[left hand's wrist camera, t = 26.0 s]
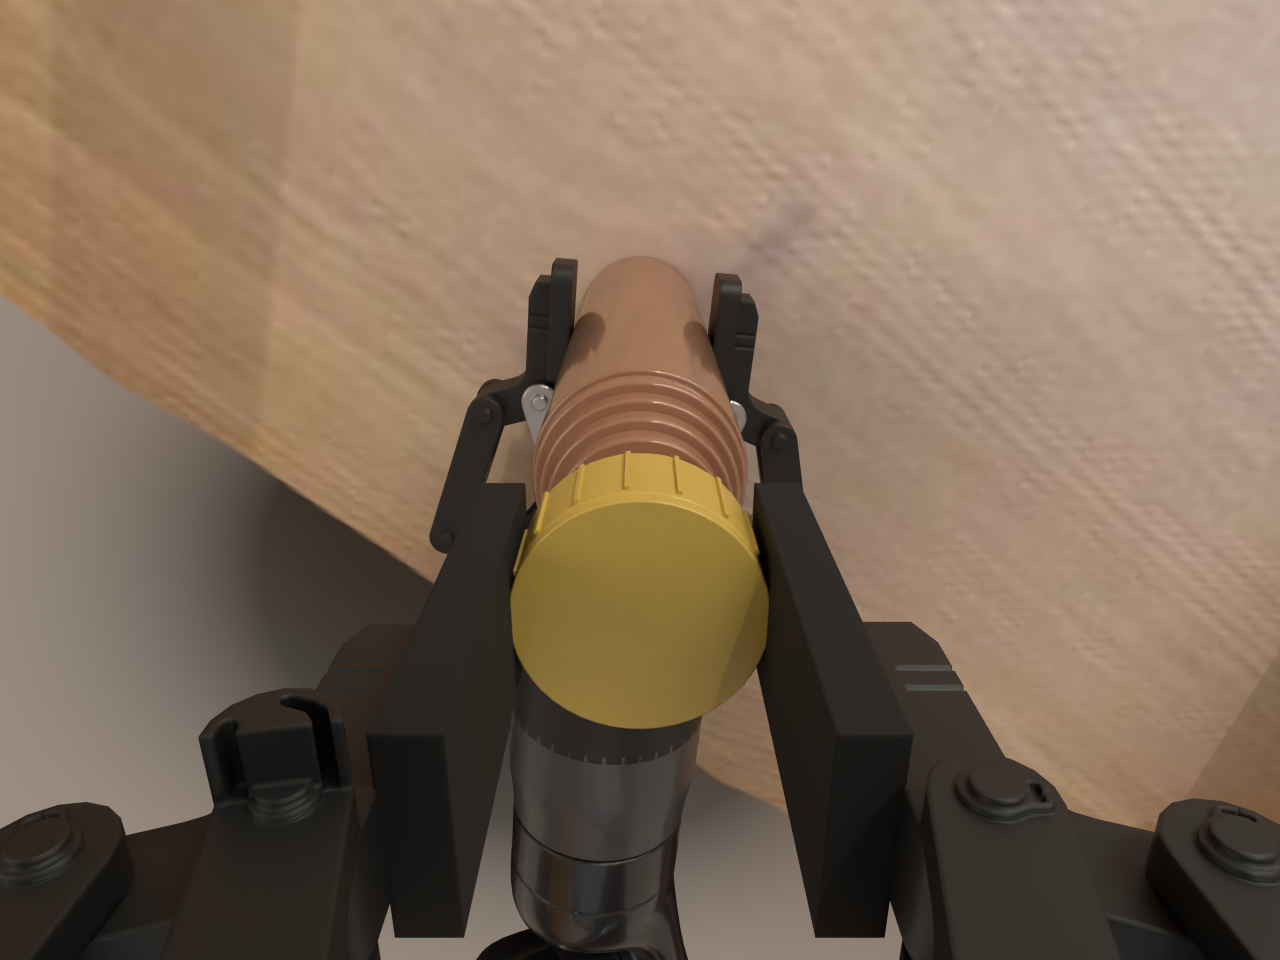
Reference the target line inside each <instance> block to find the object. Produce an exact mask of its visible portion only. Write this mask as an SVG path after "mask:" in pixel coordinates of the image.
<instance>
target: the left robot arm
mask: <svg viewBox="0 0 1280 960" xmlns="http://www.w3.org/2000/svg"><path fill="white" fill-rule="evenodd" d="M752 526H753V529H754V533H755V536H756V540H757V543H758V547H759V550H760V554H759V558H760V561H761V565H762V568H763V572H764V575H765V579H766V582H767V586H768V590H769V608H768V624H767V639H766V648H765V650H764V653H763V655H762V657H761V660H760V662H759V663H758V665H757V671H758V676H759V681H760V685H761V690H762V694H763V699H764V704H765V708H766V713H767V717H768V722H769V727H770V731H771V736H772V740H773V745H774V749H775V754H776V759H777V763H778V768H779V772H780V777H781V782H782V786H783V791H784V795H785V800H786V805H787V809H788V814H789V818H790V823H791V827H792V832H793V837H794V841H795V846H796V850H797V855H798V860H799V864H800V869H801V873H802V878H803V883H804V887H805V892H806V896H807V901H808V906H809V910H810V915H811V919H812V924H813V928H814V933H815V937H816V938H884V937H885V930H886V923H887V916H888V909H889V902H891V905H892V908H893V911H894V914H895V917H896V920H897V924H898V926H899V930H900V933H901V936H902V946H901V952H900V959H899V960H1280V825H1279V824H1277V823H1275V822H1273V821H1271V820H1269V819H1267V818H1265V817H1263V816H1262V815H1260V814H1258V813H1256V812H1254V811H1251V810H1248V809H1245V808H1242V807H1238V806H1235V805H1232V804H1229V803H1226V802H1223V801H1214V800H1204V799H1189V800H1184V801H1179V802H1174V803H1171V804H1170V805H1169V806H1168V807H1167V808H1166V809H1165V810H1164V811H1163V812H1161V813H1160V814H1159V818H1158V821H1157V825H1156V828H1155V832H1152V831H1147V830H1143V829H1139V828H1134V827H1130V826H1125V825H1121V824H1117V823H1112V822H1108V821H1103V820H1099V819H1095V818H1092V817H1088V816H1085V815H1082V814H1078V813H1075V812H1073V811H1070V810H1068V809H1067V806H1066V804H1065V803H1064V801H1063V799H1062V798H1061V796H1060V795H1059V793H1058V792H1057V790H1056V788H1055V787H1054V786H1053V785H1052V784H1051V783H1049V782H1048V781H1047V780H1046V779H1044V778H1043V777H1042V776H1041V775H1040V774H1038V773H1037V772H1036V771H1035V770H1033V769H1030V768H1028V767H1026V766H1024V765H1022V764H1020V763H1018V762H1016V761H1014V760H1012V759H1009V758H1005V756H1004V754H1003V753H1002V751H1001V749H1000V748H999V746H998V744H997V742H996V741H995V739H994V737H993V736H992V734H991V732H990V730H989V729H988V727H987V725H986V724H985V722H984V720H983V718H982V717H981V715H980V713H979V712H978V710H977V708H976V707H975V705H974V703H973V701H972V700H971V698H970V696H969V695H968V693H967V691H964V689H963V684H962V683H961V681H960V679H959V677H958V676H957V674H956V672H955V671H952V665H951V664H950V662H949V660H948V659H947V657H946V655H945V654H944V652H943V650H942V648H941V647H940V645H939V643H938V642H937V641H935V640H934V639H933V638H931V637H930V636H929V635H928V634H926V633H925V632H924V631H922V630H921V629H920V628H918V627H917V626H916V625H914V624H913V623H912V622H862V620H861V618H860V615H859V613H858V611H857V609H856V607H855V604H854V602H853V600H852V598H851V596H850V593H849V591H848V589H847V587H846V585H845V582H844V580H843V578H842V576H841V574H840V571H839V569H838V567H837V565H836V563H835V560H834V558H833V556H832V554H831V552H830V549H829V547H828V545H827V543H826V541H825V538H824V536H823V534H822V532H821V530H820V527H819V525H818V523H817V521H816V519H815V516H814V514H813V512H812V510H811V508H810V506H809V503H808V501H807V499H806V497H805V495H804V492H803V490H802V488H801V486H800V484H799V483H754V501H753V520H752ZM525 529H527V512H526V493H525V483H480V484H479V487H478V489H477V491H476V493H475V495H474V498H473V500H472V502H471V504H470V506H469V509H468V511H467V513H466V515H465V517H464V520H463V522H462V524H461V526H460V528H459V531H458V533H457V535H456V537H455V539H454V542H453V544H452V546H451V548H450V550H449V553H448V555H447V557H446V559H445V561H444V564H443V566H442V568H441V570H440V572H439V575H438V577H437V579H436V581H435V583H434V586H433V588H432V590H431V592H430V594H429V597H428V599H427V601H426V603H425V605H424V608H423V610H422V612H421V614H420V616H419V619H418V621H417V623H416V625H368V626H366V627H365V628H364V629H362V630H361V631H360V632H358V633H357V634H356V635H354V636H353V637H352V638H351V639H349V640H348V641H347V642H345V643H344V644H343V645H342V646H341V648H340V649H339V651H338V653H337V654H336V656H335V658H334V660H333V661H332V663H331V665H330V666H329V668H328V674H325V675H324V677H323V678H322V680H321V682H320V684H319V685H318V687H317V689H316V690H317V691H316V690H313V689H309V688H284V689H279V690H275V691H270V692H265V693H261V694H257V695H254V696H252V697H250V698H247V699H245V700H243V701H240V702H238V703H235V704H233V705H231V706H230V707H228V708H227V709H226V710H224V711H223V712H221V713H220V714H219V715H217V716H216V717H214V718H213V719H212V720H211V721H210V722H209V723H208V725H207V726H206V727H205V729H204V730H203V731H202V733H201V734H200V736H199V737H198V738H199V743H200V747H201V751H202V756H203V760H204V764H205V768H206V773H207V777H208V781H209V785H210V790H211V794H212V799H213V803H214V808H213V811H212V813H211V814H208V815H206V816H203V817H199V818H196V819H193V820H190V821H186V822H183V823H178V824H174V825H170V826H166V827H161V828H157V829H152V830H148V831H143V832H139V833H135V834H131V835H126V834H125V831H124V827H123V824H122V820H121V818H120V817H119V816H118V815H117V814H116V813H115V812H114V811H113V810H112V809H110V808H109V807H108V806H103V805H98V804H94V803H88V802H83V803H72V804H63V805H57V806H53V807H50V808H47V809H44V810H41V811H38V812H35V813H31V814H28V815H26V816H24V817H22V818H20V819H18V820H17V821H15V822H13V823H11V824H9V825H7V826H5V827H3V828H1V829H0V960H381V959H380V952H379V946H378V938H379V935H380V932H381V929H382V926H383V923H384V920H385V917H386V914H387V911H388V907H389V904H390V906H391V913H392V920H393V927H394V934H395V938H464V935H465V930H466V926H467V921H468V917H469V912H470V908H471V903H472V898H473V894H474V889H475V885H476V880H477V875H478V871H479V866H480V862H481V857H482V853H483V848H484V843H485V839H486V834H487V830H488V825H489V820H490V816H491V811H492V807H493V802H494V798H495V793H496V788H497V783H498V779H499V774H500V770H501V765H502V761H503V756H504V752H505V747H506V742H507V738H508V733H509V729H510V724H511V720H512V715H513V710H514V706H515V701H516V697H517V692H518V687H519V683H520V678H521V674H522V669H523V666H522V664H521V662H520V660H519V658H518V656H517V654H516V652H515V649H514V645H513V633H512V617H511V600H510V592H511V589H512V585H513V582H514V578H515V576H514V572H513V570H514V567H515V563H516V560H517V556H518V553H519V549H520V546H521V542H522V539H523V535H524V532H525Z"/></svg>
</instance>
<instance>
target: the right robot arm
mask: <svg viewBox="0 0 1280 960" xmlns="http://www.w3.org/2000/svg"><path fill="white" fill-rule="evenodd" d="M577 266H578V261H577V260H575V259H563V258H556V259H555V261H554V262H553V265H552V271H551V276H549V275H540V276H539V278H538V279H537V281H536V282H535V285H534V287H533V289H532V291H531V293H530V296H529V309H528V334H527V359H526V371H525V372H524V373H523V374H521V375H519V376H517V377H514V378H510V379H507V380H503V381H502V380H499V379H491V380H488V381H486V382H485V383H484V384H483V385H482V386H481V388H480V390H479V391H478V394H477V397H476V398H475V399H474V400H473V401H472V402H471V404H470V406H469V407H468V410H467V413H466V416H465V419H464V423H463V426H462V429H461V433H460V436H459V439H458V442H457V446H456V449H455V452H454V456H453V459H452V462H451V465H450V469H449V472H448V475H447V479H446V482H445V485H444V489H443V492H442V495H441V498H440V502H439V505H438V508H437V512H436V515H435V518H434V521H433V525H432V528H431V531H430V536H429V538H430V542H431V544H432V546H433V547H434V548H435V549H436V550H437V551H439V552H442V553H446V554H448V553H449V550H450V548H451V546H452V544H453V542H454V539H455V537H456V535H457V533H458V531H459V528H460V526H461V524H462V522H463V520H464V517H465V515H466V513H467V511H468V509H469V506H470V504H471V502H472V500H473V498H474V495H475V493H476V491H477V489H478V487H479V484H480V483H486V481H487V478H488V475H489V472H490V469H491V466H492V463H493V459H494V456H495V453H496V450H497V447H498V444H499V441H500V438H501V435H502V432H503V428H504V426H506V425H510V424H513V423H517V422H521V421H525V420H526V421H527V424H528V427H529V431H530V434H531V437H532V440H533V444H534V447H535V443H536V439H537V436H538V434H539V431H540V428H541V425H542V422H543V419H544V416H545V413H546V410H547V407H548V404H549V401H550V398H551V395H552V392H553V389H554V386H555V383H556V380H557V377H558V374H559V371H560V368H561V365H562V362H563V359H564V357H565V354H566V351H567V348H568V345H569V342H570V339H571V336H572V333H573V330H574V318H575V302H576V285H577ZM741 292H742V282H741V280H740V278H739V277H738V275H733V274H722V273H716V275H715V280H714V288H713V296H712V304H711V312H710V321H709V329H708V337H709V340H710V343H711V346H712V349H713V352H714V355H715V358H716V361H717V364H718V367H719V370H720V373H721V376H722V379H723V382H724V384H725V387H726V390H727V393H728V396H729V399H730V402H731V405H732V408H733V411H734V414H735V417H736V420H737V423H738V426H739V429H740V432H741V435H742V438H743V441H745V442H748V443H750V444H752V445H754V446H756V452H757V460H758V468H759V475H760V483H799V484H800V486H801V488H802V490H803V487H802V478H801V469H800V460H799V452H798V443H797V436H796V434H795V432H794V430H793V428H792V426H791V424H790V422H789V420H788V418H787V416H786V414H785V412H784V411H783V409H782V408H781V407H780V406H778V405H776V404H767V403H765V402H762V401H760V400H758V399H756V398H754V397H753V396H751V395H750V394H749V382H750V375H751V368H752V360H753V353H754V346H755V339H756V332H757V325H758V314H757V310H756V306H755V302H754V300H753V299H752V297H751V296H750V294H743V293H741ZM537 508H538V507H537V504H536V501H535V502H534V503H533V505H532V506H531V507H530V508H529V509H528V510H527V511H526V512H527V530H528V529H529V525H530V523H531V520H532V518H533V516H534V514H535V512H536V510H537ZM750 519H751V523H752V520H753V514H752V515H751V516H750ZM701 719H702V715H701V716H699V717H697V718H694V719H692V720H689V721H686V722H683V723H679V724H676V725H671V726H666V727H661V728H649V729H628V728H620V727H613V726H608V725H604V724H600V723H596V722H593V721H591V720H588V719H585V718H583V717H580V716H578V715H576V714H574V713H572V712H570V711H568V710H566V709H565V708H563V707H562V706H560V705H559V704H557V703H556V702H554V701H553V700H552V699H551V698H550V697H548V696H547V695H546V694H545V693H544V692H543V691H541V689H540V688H539V687H538V686H537V685H536V684H535V683H534V682H533V681H532V679H531V678H530V676H529V675H528V674H527V672H526V671H525V669H524V668H523V669H522V674H521V678H520V683H519V687H518V692H517V697H516V701H515V706H514V710H513V715H512V720H511V730H510V765H511V773H512V780H513V788H514V814H513V836H512V851H511V885H512V893H513V898H514V902H515V905H516V907H517V909H518V912H519V914H520V916H521V918H522V919H523V921H524V922H525V924H526V925H527V926H528V928H529V929H527V930H524V931H521V932H518V933H515V934H512V935H509V936H507V937H504V938H502V939H500V940H498V941H496V942H494V943H492V944H491V945H489V946H488V947H487V948H486V949H484V950H483V951H482V953H481V954H480V955H479V957H478V958H477V959H476V960H688V958H687V954H686V951H685V947H684V943H683V939H682V934H681V929H680V923H679V916H678V909H677V902H676V894H675V886H674V868H675V861H676V853H677V846H678V838H679V831H680V824H681V815H682V811H683V806H684V802H685V799H686V795H687V792H688V789H689V786H690V783H691V780H692V776H693V772H694V767H695V761H696V754H697V747H698V740H699V733H700V726H701Z"/></svg>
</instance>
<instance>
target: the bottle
mask: <svg viewBox="0 0 1280 960" xmlns="http://www.w3.org/2000/svg"><path fill="white" fill-rule="evenodd" d="M626 451H631V454H632V453H648V454H660V455H665V456H669V457H674V455H676V456H679V460H683V461H685V462H688V463H690V464H692V465H695V466H697V467H699V468H700V469H702V470H704V471H705V472H707V473H709V474H710V475H712V476H713V477H714V478H716V477H717V476H718V477H719V478H721V482H722V484H723V485H724V486H725V487H726V488H727V489H728V490H729V491H730V492H731V494H732V495H733V496H734V497H735V499H736V500H737V501H738V503H739V504H740V506H741V507H742V506H743V503H744V497H745V492H746V484H747V474H748V463H747V453H746V449H745V445H744V441H743V438H742V435H741V432H740V429H739V426H738V423H737V420H736V417H735V414H734V411H733V408H732V405H731V402H730V399H729V396H728V393H727V390H726V387H725V384H724V382H723V379H722V376H721V373H720V370H719V367H718V364H717V361H716V358H715V355H714V352H713V349H712V346H711V343H710V340H709V337H708V334H707V331H706V328H705V325H704V322H703V319H702V316H701V314H700V311H699V308H698V305H697V302H696V299H695V296H694V293H693V291H692V289H691V287H690V285H689V283H688V282H687V281H686V279H685V278H684V277H683V276H682V275H681V274H680V272H679V271H677V270H676V269H675V268H673V267H672V266H671V265H669V264H667V263H665V262H663V261H660V260H658V259H654V258H650V257H630V258H625V259H622V260H619V261H617V262H614V263H612V264H611V265H609V266H607V267H606V268H605V269H603V270H602V271H601V272H600V273H599V274H598V275H597V276H596V277H595V278H594V280H593V281H592V283H591V284H590V286H589V288H588V290H587V292H586V295H585V297H584V300H583V303H582V306H581V309H580V312H579V315H578V318H577V321H576V324H575V327H574V330H573V333H572V336H571V339H570V342H569V345H568V348H567V351H566V354H565V357H564V359H563V362H562V365H561V368H560V371H559V374H558V377H557V380H556V383H555V386H554V389H553V392H552V395H551V398H550V401H549V404H548V407H547V410H546V413H545V416H544V419H543V422H542V425H541V428H540V431H539V434H538V436H537V439H536V443H535V447H534V452H533V458H532V481H533V486H534V495H535V500H536V504H537V507H539V505H540V504H541V501H542V497H543V494H544V493H545V492H546V491H547V492H548V493H549V492H550V491H551V490H552V489H553V488H554V487H555V486H556V485H557V484H558V483H559V482H560V481H562V480H563V479H564V478H565V477H567V476H568V475H570V474H571V473H573V472H574V471H576V470H577V469H579V465H581V464H583V463H584V465H587V464H589V463H592V462H595V461H597V460H600V459H603V458H607V457H611V456H616V455H620V454H625V452H626Z"/></svg>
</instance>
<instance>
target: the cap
mask: <svg viewBox="0 0 1280 960" xmlns="http://www.w3.org/2000/svg"><path fill="white" fill-rule="evenodd" d="M759 554H760V550H759V547H758V543H757V540H756V536H755V533H754V529H753V526H752V523H751V519H750V516H749V513H748V511H747V510H745V511H743V509H742V507H741V506H740V504H739V503H738V501H737V500H736V499H735V497H734V496H733V495H732V494H731V492H730V491H729V490H728V489H727V488H726V487H725V486H724V485H723V484H722V482H721V478H719V477H718V476H717V477H716V478H714V477H713V476H712V475H710V474H709V473H707V472H705V471H704V470H702V469H700V468H699V467H697V466H695V465H692V464H690V463H688V462H685V461H683V460H679V456H676V455H674V457H669V456H665V455H660V454H648V453H632V454H631V451H626V452H625V454H620V455H616V456H611V457H607V458H603V459H600V460H597V461H595V462H592V463H589V464H587V465H584V463H583V464H581V465H579V469H577V470H576V471H574V472H573V473H571V474H570V475H568V476H567V477H565V478H564V479H563V480H562V481H560V482H559V483H558V484H557V485H556V486H555V487H554V488H553V489H552V490H551V491H550V492H549V493H548V492H547V491H546V492H545V493H544V494H543V497H542V501H541V504H540V505H539V507H538V508H537V510H536V512H535V514H534V516H533V518H532V520H531V523H530V525H529V529H528V530H527V529H525V532H524V535H523V539H522V542H521V546H520V549H519V553H518V556H517V560H516V563H515V567H514V570H513V572H514V576H515V578H514V582H513V585H512V589H511V592H510V600H511V617H512V633H513V645H514V649H515V652H516V654H517V656H518V658H519V660H520V662H521V664H522V666H523V668H524V669H525V671H526V672H527V674H528V675H529V676H530V678H531V679H532V681H533V682H534V683H535V684H536V685H537V686H538V687H539V688H540V689H541V691H543V692H544V693H545V694H546V695H547V696H548V697H550V698H551V699H552V700H553V701H554V702H556V703H557V704H559V705H560V706H562V707H563V708H565V709H566V710H568V711H570V712H572V713H574V714H576V715H578V716H580V717H583V718H585V719H588V720H591V721H593V722H596V723H600V724H604V725H608V726H613V727H620V728H628V729H649V728H661V727H666V726H671V725H676V724H679V723H683V722H686V721H689V720H692V719H694V718H697V717H699V716H701V715H704V714H706V713H708V712H709V711H711V710H713V709H714V708H716V707H718V706H720V705H721V704H722V703H724V702H725V701H726V700H728V699H729V698H730V697H732V696H733V695H734V694H735V693H736V692H737V691H738V690H739V689H740V688H741V687H742V686H743V685H744V683H745V682H746V681H747V680H748V678H749V677H750V676H751V675H752V673H753V672H754V670H755V668H756V667H757V665H758V663H759V662H760V660H761V657H762V655H763V653H764V650H765V648H766V639H767V624H768V608H769V590H768V586H767V582H766V579H765V575H764V572H763V568H762V565H761V561H760V558H759Z"/></svg>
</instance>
